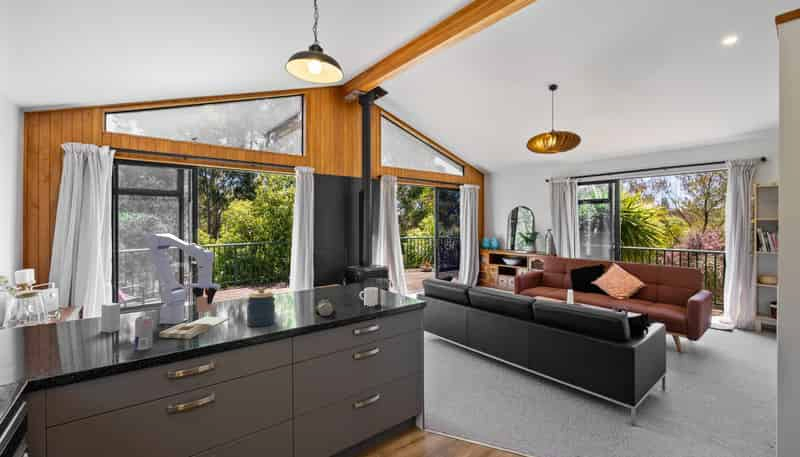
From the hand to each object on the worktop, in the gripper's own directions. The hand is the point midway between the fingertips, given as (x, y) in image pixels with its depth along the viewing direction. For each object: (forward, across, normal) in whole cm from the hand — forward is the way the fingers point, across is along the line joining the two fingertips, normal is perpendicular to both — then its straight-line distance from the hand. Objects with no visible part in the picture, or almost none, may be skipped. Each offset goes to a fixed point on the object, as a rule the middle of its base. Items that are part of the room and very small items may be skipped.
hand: (205, 303), depth 163 cm
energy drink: (+10, -2, -32) cm, 34 cm away
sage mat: (+10, 0, +3) cm, 10 cm away
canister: (+10, +26, +4) cm, 28 cm away
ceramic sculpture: (+10, +50, +27) cm, 58 cm away
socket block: (+10, 0, -13) cm, 16 cm away
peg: (+3, 0, 0) cm, 4 cm away
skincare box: (+10, -34, -15) cm, 38 cm away
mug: (+10, +70, +48) cm, 86 cm away
